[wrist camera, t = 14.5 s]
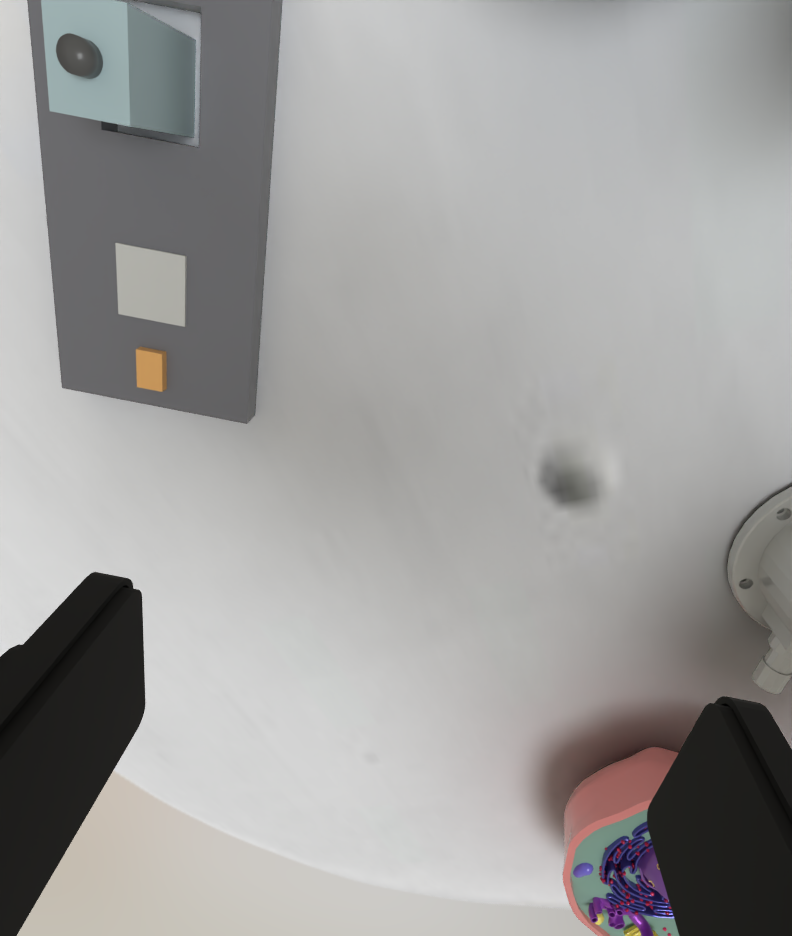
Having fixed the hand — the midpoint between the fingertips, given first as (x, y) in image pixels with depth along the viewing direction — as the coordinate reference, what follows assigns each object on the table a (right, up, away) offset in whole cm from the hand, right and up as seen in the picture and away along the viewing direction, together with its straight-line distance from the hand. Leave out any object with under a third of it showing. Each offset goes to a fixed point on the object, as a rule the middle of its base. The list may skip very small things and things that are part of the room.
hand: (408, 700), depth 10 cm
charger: (-13, +24, +21) cm, 34 cm away
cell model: (+21, -23, +41) cm, 52 cm away
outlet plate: (-13, +19, +24) cm, 33 cm away
